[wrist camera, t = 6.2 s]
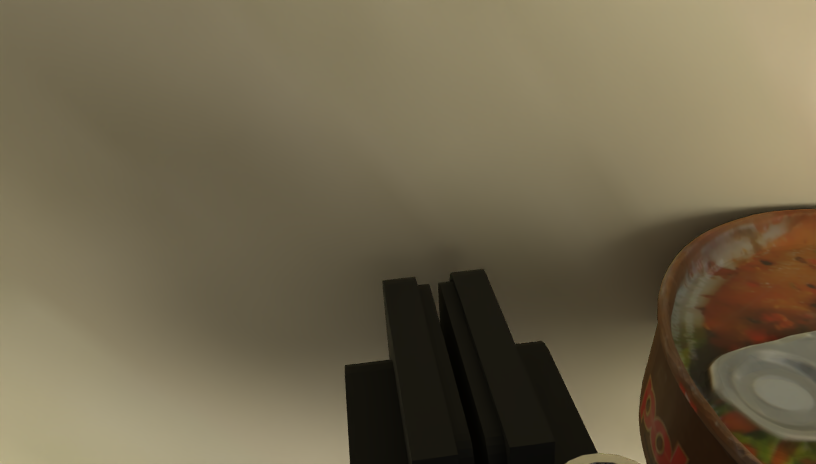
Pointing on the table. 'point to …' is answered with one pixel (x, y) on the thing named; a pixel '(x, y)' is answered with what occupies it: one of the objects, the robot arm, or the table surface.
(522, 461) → the robot arm
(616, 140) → the table surface
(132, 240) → the table surface
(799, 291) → the tin
